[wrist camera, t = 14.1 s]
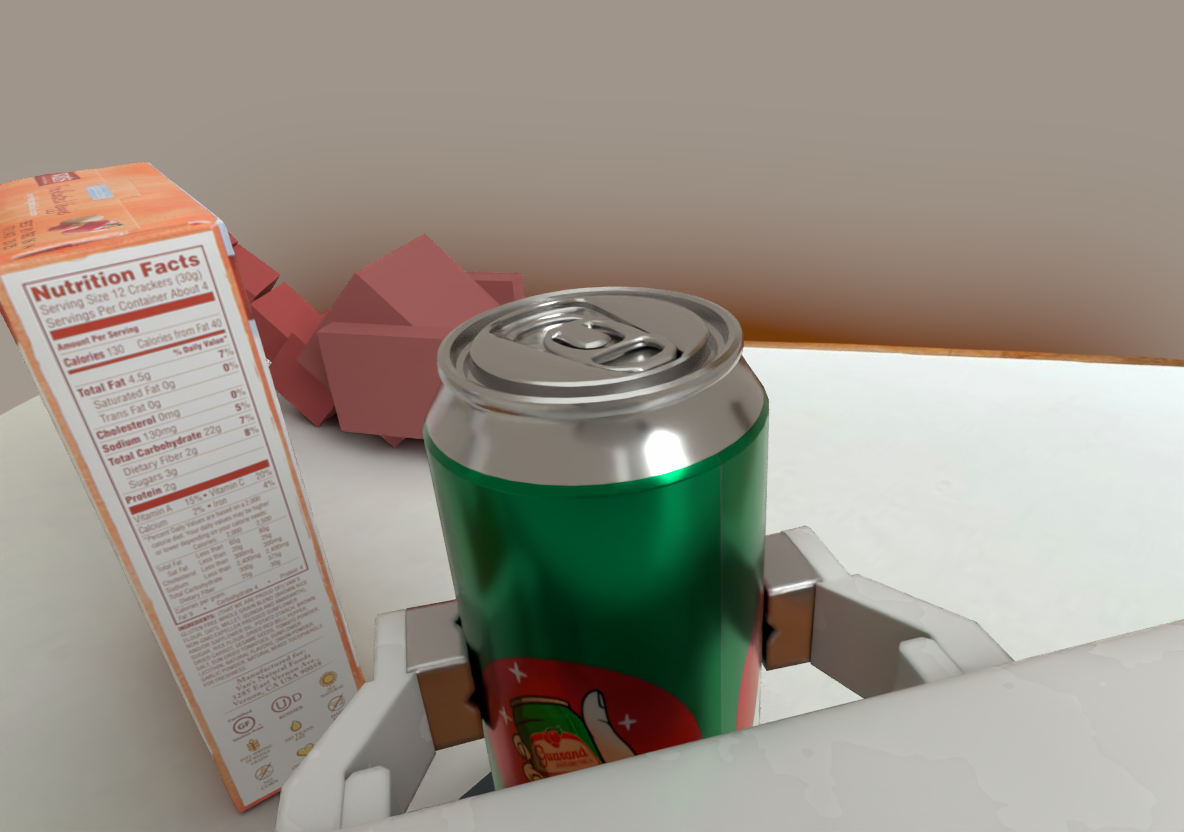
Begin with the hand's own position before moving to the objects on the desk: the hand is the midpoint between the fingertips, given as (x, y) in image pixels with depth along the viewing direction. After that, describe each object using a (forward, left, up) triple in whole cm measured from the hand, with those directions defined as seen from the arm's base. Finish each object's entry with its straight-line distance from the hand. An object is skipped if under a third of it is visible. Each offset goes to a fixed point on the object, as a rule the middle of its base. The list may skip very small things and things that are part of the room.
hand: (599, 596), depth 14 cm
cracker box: (-21, -1, -16) cm, 26 cm away
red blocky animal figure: (-39, +16, -16) cm, 45 cm away
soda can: (+1, 0, -7) cm, 7 cm away
